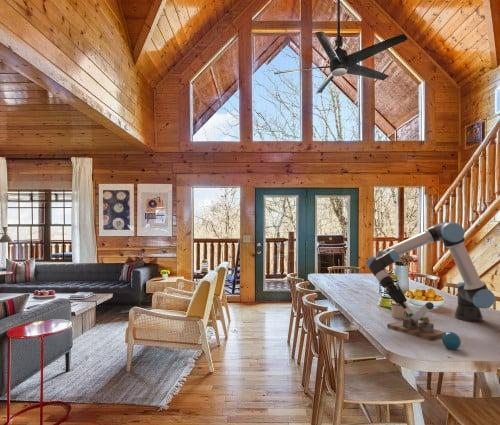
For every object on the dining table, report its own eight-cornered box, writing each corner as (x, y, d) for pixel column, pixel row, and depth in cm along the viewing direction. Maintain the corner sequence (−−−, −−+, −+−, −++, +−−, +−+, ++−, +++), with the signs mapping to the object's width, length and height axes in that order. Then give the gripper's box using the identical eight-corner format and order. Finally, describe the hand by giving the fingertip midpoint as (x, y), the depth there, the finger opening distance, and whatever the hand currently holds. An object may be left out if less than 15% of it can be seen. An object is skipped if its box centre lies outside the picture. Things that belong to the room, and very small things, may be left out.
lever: (404, 320, 194) (427, 300, 184) (409, 319, 197) (431, 300, 186) (409, 326, 192) (432, 307, 181) (413, 325, 194) (436, 306, 183)
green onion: (428, 322, 213) (387, 309, 239) (429, 316, 213) (387, 304, 239) (424, 323, 211) (382, 310, 236) (424, 318, 210) (383, 305, 236)
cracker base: (387, 327, 198) (387, 311, 198) (401, 323, 206) (401, 308, 206) (431, 340, 176) (431, 322, 177) (446, 335, 184) (445, 318, 184)
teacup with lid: (407, 319, 215) (407, 300, 216) (392, 318, 218) (392, 299, 218) (404, 314, 227) (404, 296, 227) (389, 313, 229) (389, 296, 230)
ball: (442, 350, 163) (442, 333, 163) (441, 345, 170) (440, 328, 170) (462, 353, 160) (462, 335, 160) (459, 347, 167) (459, 330, 167)
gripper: (387, 281, 214) (412, 315, 199) (374, 283, 207) (399, 318, 192) (395, 274, 209) (421, 307, 195) (381, 276, 202) (408, 310, 188)
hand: (410, 312), depth 194 cm, fingers closed
